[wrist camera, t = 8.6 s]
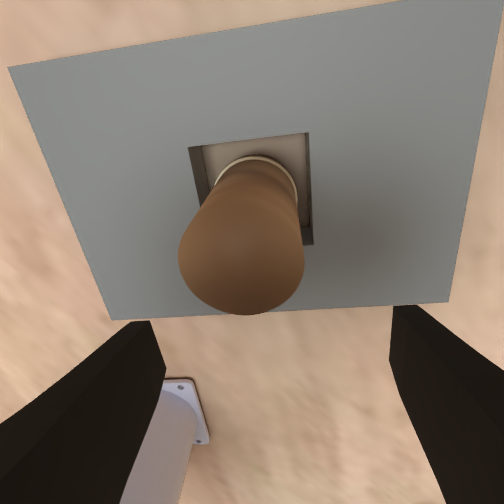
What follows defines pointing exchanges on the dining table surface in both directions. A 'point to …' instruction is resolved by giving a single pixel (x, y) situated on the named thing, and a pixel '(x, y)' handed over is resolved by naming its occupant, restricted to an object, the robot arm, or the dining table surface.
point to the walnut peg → (245, 239)
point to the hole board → (269, 125)
